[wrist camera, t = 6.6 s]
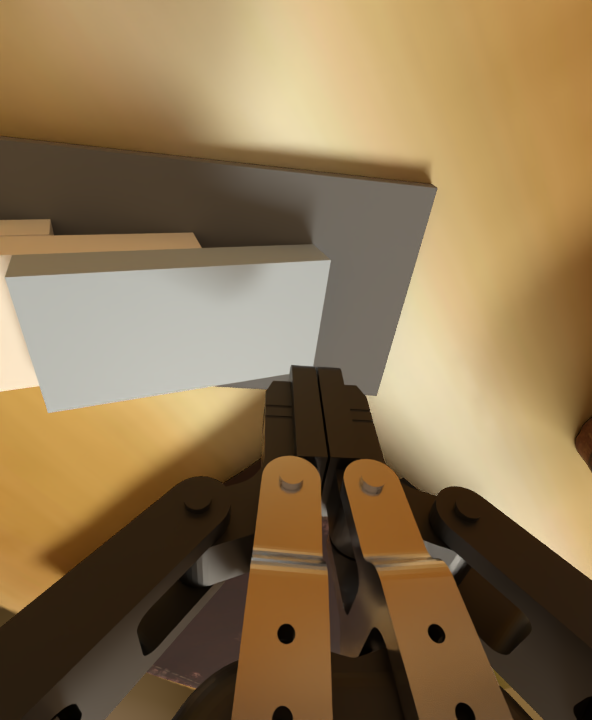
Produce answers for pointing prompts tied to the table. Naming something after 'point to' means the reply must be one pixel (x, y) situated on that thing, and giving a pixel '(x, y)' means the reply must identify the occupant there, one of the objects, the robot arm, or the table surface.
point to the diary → (227, 622)
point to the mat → (243, 226)
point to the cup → (585, 443)
